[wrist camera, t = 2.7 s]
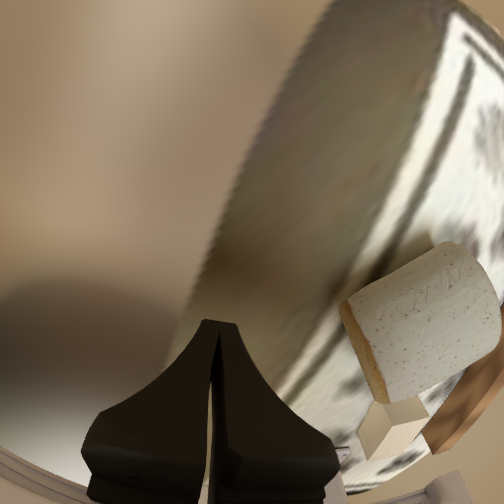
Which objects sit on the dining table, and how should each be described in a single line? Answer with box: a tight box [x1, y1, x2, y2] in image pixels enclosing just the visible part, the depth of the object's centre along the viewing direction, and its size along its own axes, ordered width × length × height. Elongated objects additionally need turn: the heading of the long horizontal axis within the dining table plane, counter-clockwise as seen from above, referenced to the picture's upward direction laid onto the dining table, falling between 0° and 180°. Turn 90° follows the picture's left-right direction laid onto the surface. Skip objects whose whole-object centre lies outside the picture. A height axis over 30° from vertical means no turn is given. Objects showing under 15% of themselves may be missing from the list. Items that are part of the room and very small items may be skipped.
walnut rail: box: [421, 303, 504, 455], centre depth 20 cm, size 24×3×4 cm, turn 169°
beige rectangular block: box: [357, 395, 430, 462], centre depth 21 cm, size 6×4×4 cm, turn 176°
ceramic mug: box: [340, 242, 502, 404], centre depth 15 cm, size 11×8×8 cm
